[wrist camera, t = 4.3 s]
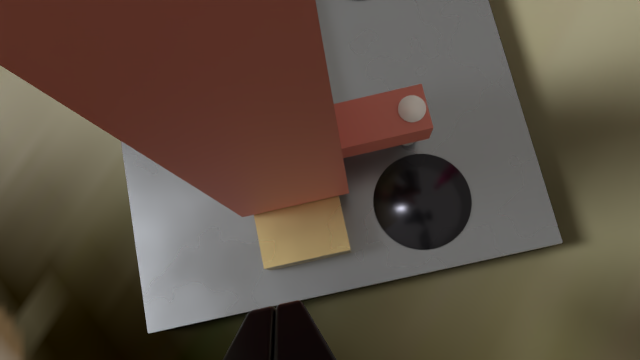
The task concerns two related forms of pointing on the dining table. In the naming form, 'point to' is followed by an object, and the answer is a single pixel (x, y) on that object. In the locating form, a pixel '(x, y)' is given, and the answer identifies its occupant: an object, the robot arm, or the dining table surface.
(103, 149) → the dining table surface
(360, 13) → the bolt plate
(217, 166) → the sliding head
